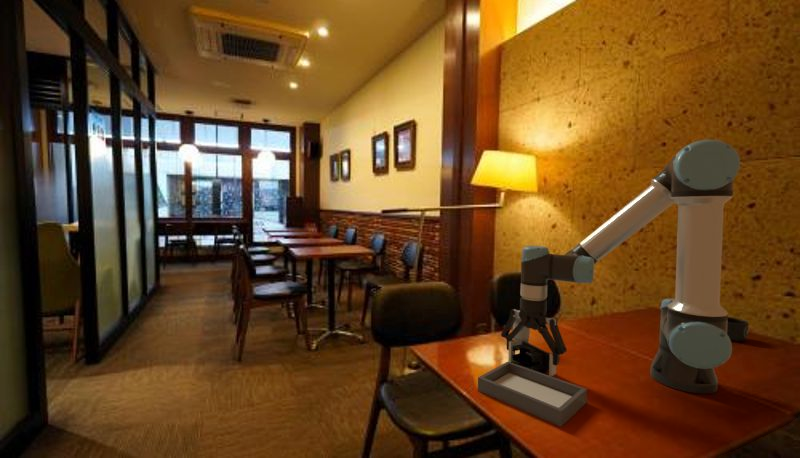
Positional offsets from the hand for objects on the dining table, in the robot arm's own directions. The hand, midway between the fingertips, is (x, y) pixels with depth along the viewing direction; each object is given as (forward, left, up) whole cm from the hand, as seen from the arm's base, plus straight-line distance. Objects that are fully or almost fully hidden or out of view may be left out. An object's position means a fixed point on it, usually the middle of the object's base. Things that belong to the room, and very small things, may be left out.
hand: (531, 367), depth 112 cm
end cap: (0, 0, 0) cm, 0 cm away
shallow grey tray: (-8, +16, 0) cm, 18 cm away
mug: (-37, -80, 0) cm, 88 cm away
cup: (+11, -14, 0) cm, 18 cm away
